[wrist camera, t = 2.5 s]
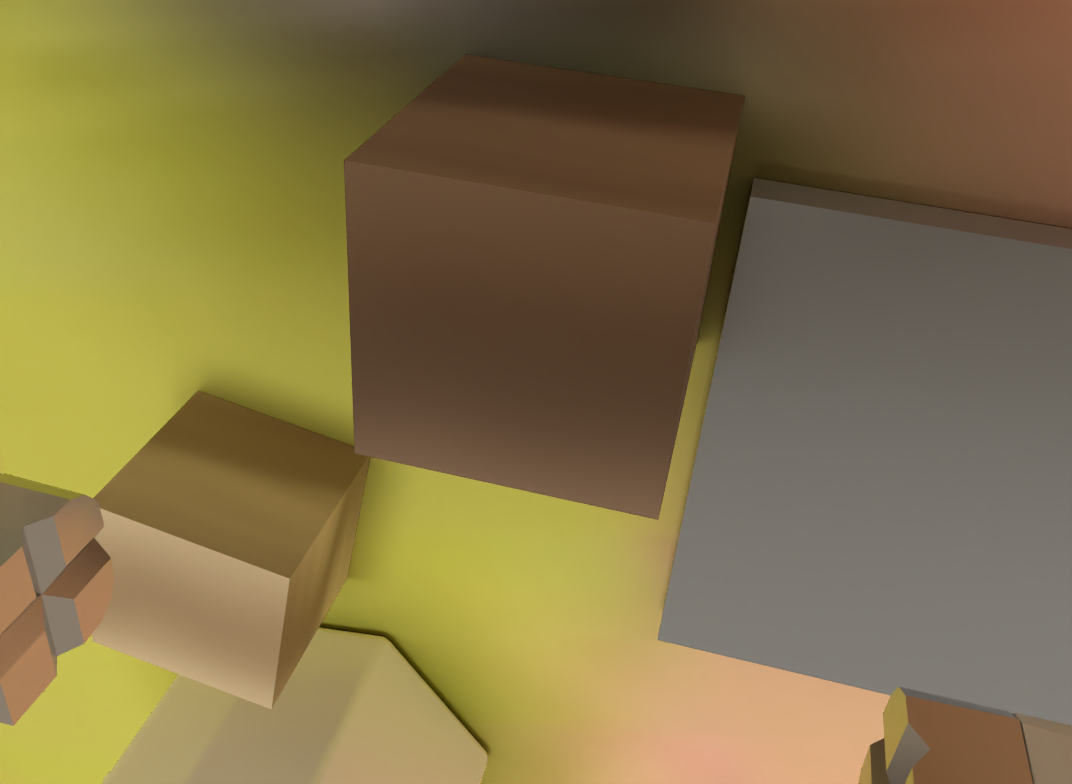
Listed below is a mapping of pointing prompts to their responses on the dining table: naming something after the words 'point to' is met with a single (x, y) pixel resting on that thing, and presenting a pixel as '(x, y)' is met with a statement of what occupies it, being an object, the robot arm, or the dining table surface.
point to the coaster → (888, 454)
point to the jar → (309, 727)
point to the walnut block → (535, 276)
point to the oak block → (228, 545)
